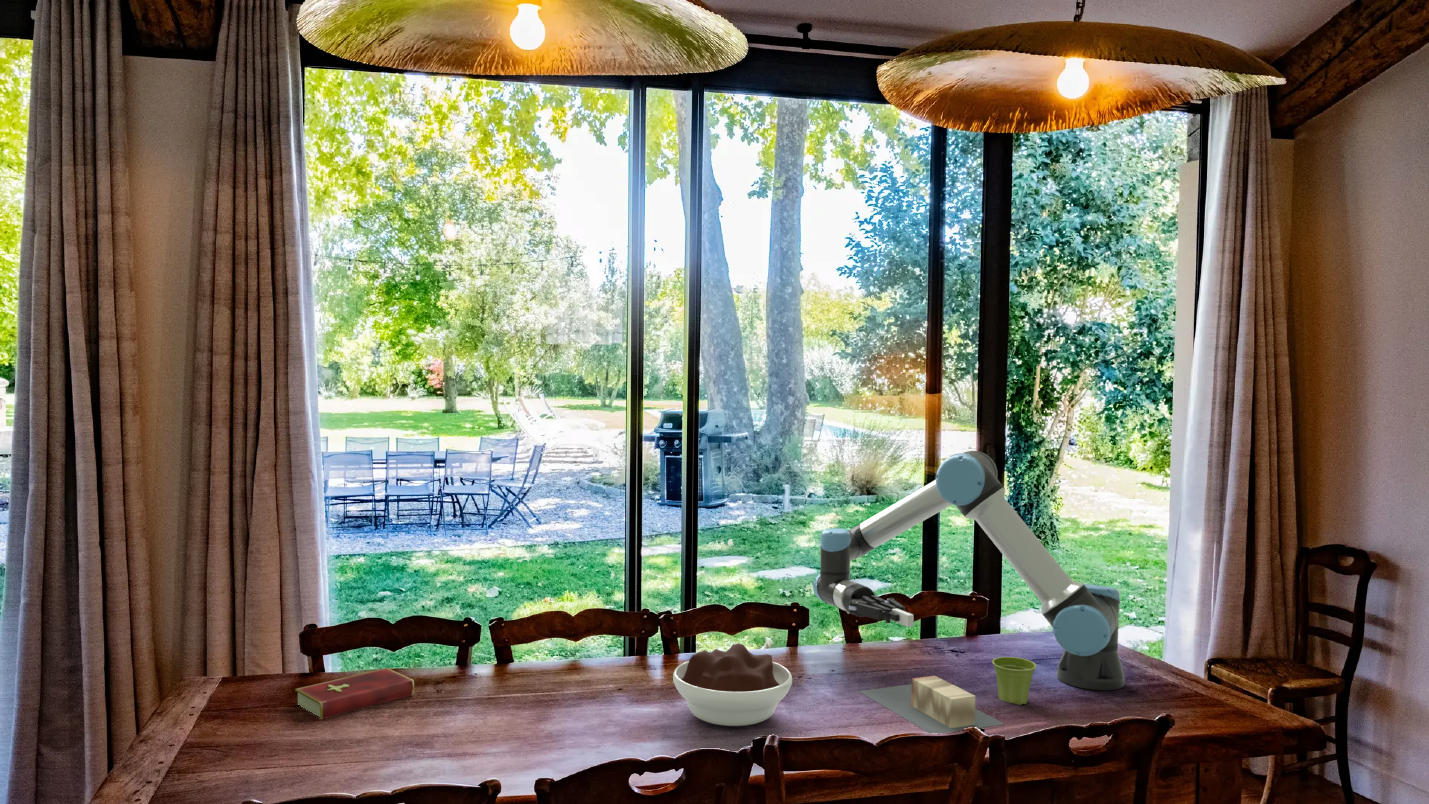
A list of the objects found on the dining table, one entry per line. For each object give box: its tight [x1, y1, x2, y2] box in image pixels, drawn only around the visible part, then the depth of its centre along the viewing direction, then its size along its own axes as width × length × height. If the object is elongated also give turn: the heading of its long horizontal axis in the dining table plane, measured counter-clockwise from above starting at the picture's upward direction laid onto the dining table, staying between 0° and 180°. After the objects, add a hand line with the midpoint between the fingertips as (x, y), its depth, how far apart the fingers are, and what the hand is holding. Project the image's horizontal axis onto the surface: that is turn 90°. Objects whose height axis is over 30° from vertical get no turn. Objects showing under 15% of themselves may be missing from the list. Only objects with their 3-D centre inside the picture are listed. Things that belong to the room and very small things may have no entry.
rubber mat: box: [858, 683, 1005, 734], centre depth 212 cm, size 28×18×1 cm, turn 23°
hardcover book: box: [294, 667, 415, 720], centre depth 210 cm, size 12×21×4 cm, turn 137°
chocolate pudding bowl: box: [672, 643, 793, 727], centre depth 205 cm, size 25×25×15 cm
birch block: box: [911, 675, 976, 728], centre depth 207 cm, size 6×6×14 cm
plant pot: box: [991, 656, 1037, 706], centre depth 219 cm, size 9×9×9 cm
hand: (910, 621), depth 221 cm, fingers closed
